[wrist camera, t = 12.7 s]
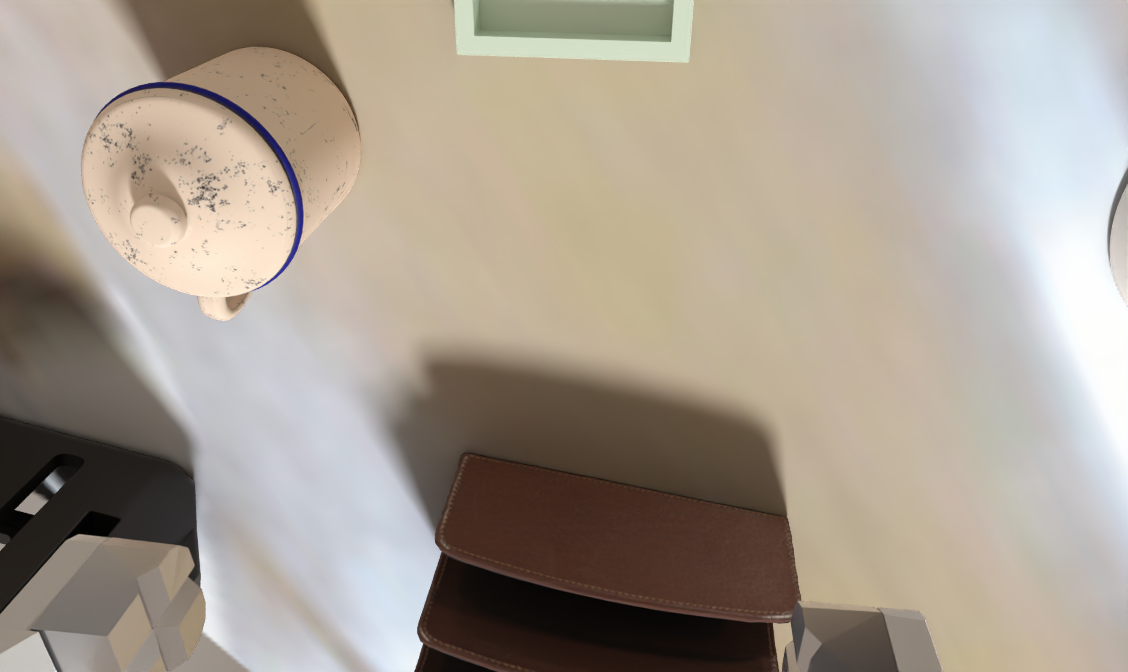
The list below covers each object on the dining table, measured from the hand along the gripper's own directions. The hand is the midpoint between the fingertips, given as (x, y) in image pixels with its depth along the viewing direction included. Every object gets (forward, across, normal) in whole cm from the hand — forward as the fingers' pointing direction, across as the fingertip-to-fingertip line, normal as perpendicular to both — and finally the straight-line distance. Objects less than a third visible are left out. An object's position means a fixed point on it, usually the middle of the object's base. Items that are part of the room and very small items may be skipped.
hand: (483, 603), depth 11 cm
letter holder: (+32, -1, +29) cm, 43 cm away
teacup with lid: (+31, +17, +5) cm, 36 cm away
